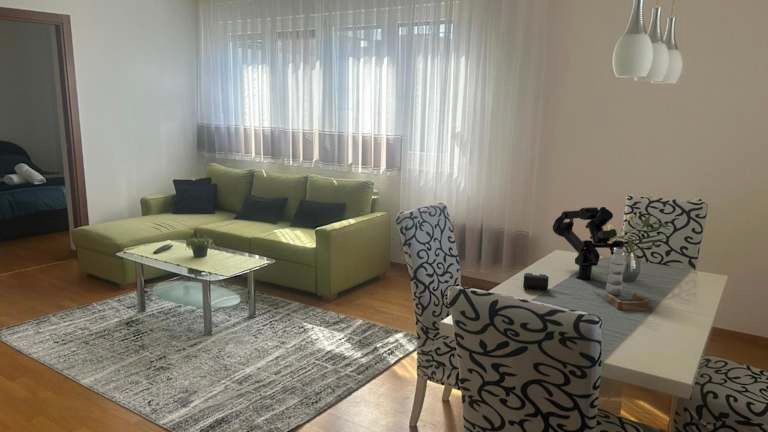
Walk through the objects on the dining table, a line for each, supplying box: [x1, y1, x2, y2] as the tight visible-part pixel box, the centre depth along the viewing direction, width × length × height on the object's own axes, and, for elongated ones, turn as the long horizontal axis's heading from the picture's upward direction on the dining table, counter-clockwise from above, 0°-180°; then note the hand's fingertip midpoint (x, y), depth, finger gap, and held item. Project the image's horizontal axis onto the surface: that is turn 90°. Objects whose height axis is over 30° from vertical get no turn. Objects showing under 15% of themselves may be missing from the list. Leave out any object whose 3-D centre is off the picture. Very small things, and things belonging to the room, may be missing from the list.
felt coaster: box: [592, 289, 633, 302], centre depth 241 cm, size 12×12×1 cm
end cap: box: [522, 272, 550, 292], centre depth 245 cm, size 10×7×7 cm
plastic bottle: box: [605, 247, 627, 295], centre depth 239 cm, size 6×7×20 cm
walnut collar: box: [605, 292, 653, 311], centre depth 230 cm, size 10×13×3 cm
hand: (606, 263), depth 246 cm, fingers open, 9 cm apart
